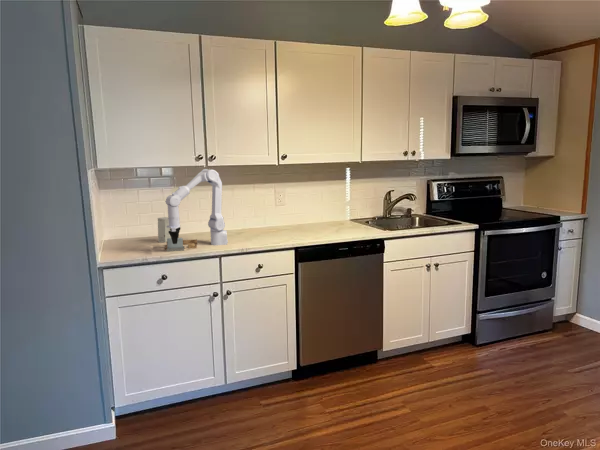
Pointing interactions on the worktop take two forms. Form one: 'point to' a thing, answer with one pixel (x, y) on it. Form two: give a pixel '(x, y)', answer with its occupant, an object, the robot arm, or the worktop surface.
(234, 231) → the worktop surface
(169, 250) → the holder
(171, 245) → the grey flat block
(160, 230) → the skincare box
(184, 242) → the wooden tray
